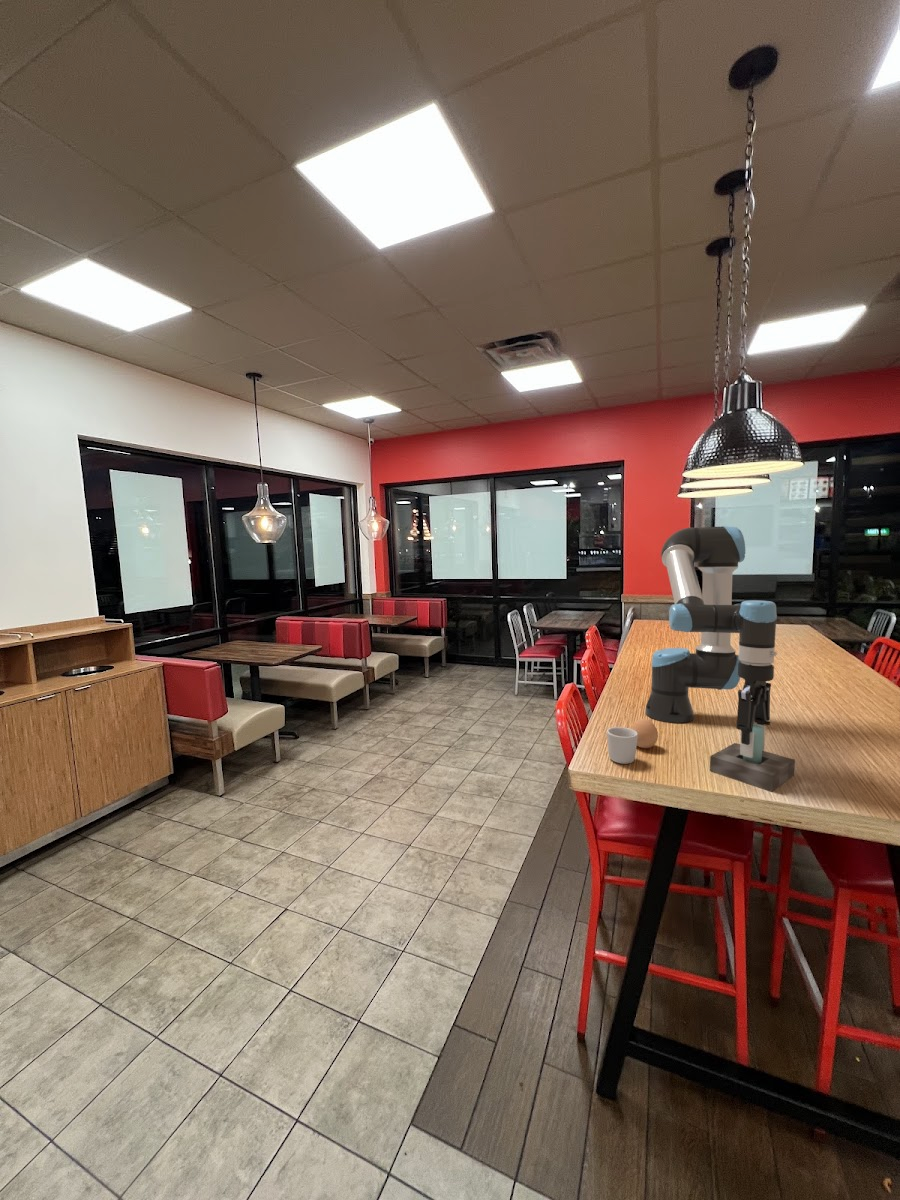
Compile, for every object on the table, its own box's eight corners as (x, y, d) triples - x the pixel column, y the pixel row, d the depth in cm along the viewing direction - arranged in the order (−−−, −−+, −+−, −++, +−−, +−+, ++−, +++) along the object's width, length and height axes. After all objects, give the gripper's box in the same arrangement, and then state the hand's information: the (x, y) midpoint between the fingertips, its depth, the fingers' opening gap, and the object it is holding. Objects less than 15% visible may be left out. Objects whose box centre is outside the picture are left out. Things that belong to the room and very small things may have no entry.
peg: (739, 772, 121) (741, 726, 120) (746, 768, 123) (748, 723, 122) (757, 778, 118) (759, 731, 117) (763, 773, 120) (765, 727, 119)
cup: (597, 751, 136) (598, 723, 135) (624, 749, 136) (625, 722, 136) (613, 767, 125) (614, 737, 124) (642, 765, 126) (643, 736, 125)
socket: (709, 770, 122) (710, 755, 122) (734, 756, 130) (734, 742, 130) (771, 791, 111) (772, 775, 110) (794, 774, 119) (794, 759, 119)
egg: (624, 745, 140) (625, 716, 139) (643, 741, 143) (644, 713, 142) (644, 754, 133) (644, 724, 132) (663, 749, 136) (664, 720, 135)
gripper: (756, 671, 109) (752, 767, 111) (788, 659, 121) (784, 747, 123) (722, 665, 115) (719, 757, 117) (755, 655, 127) (752, 739, 129)
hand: (752, 752), depth 120 cm, fingers open, 6 cm apart
